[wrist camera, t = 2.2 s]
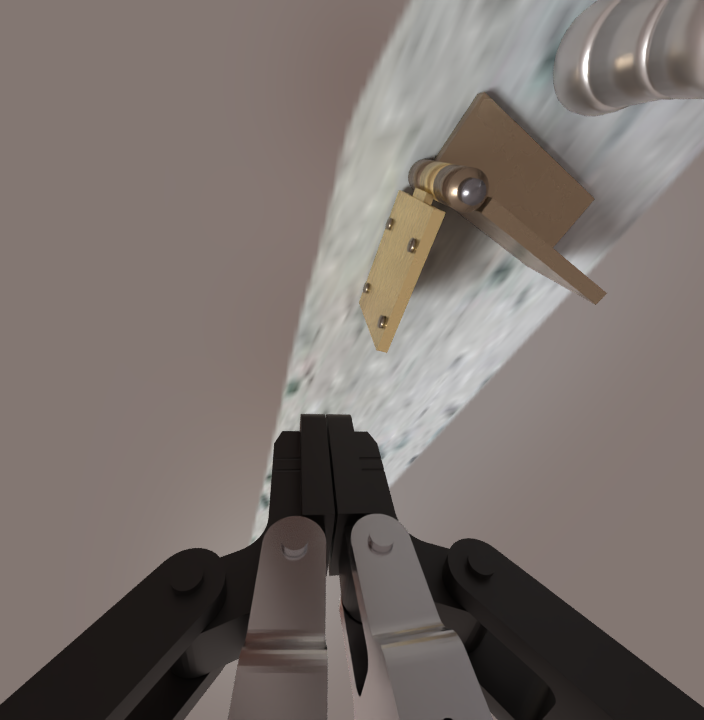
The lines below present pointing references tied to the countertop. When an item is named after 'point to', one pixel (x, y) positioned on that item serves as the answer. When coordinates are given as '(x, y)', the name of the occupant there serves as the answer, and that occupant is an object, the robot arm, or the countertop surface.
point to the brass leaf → (401, 258)
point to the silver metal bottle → (631, 55)
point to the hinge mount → (511, 191)
